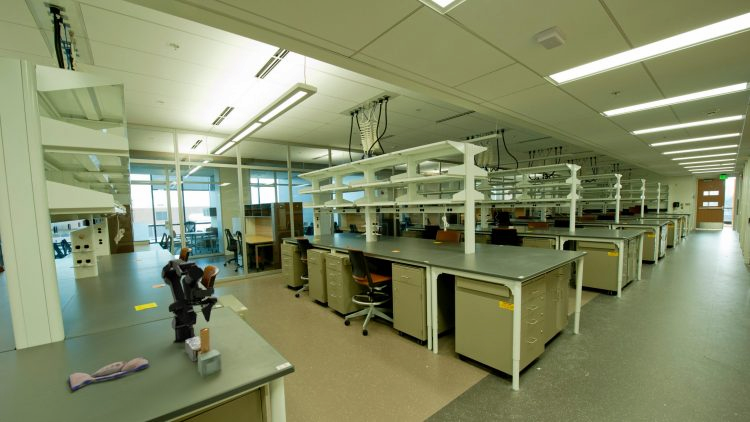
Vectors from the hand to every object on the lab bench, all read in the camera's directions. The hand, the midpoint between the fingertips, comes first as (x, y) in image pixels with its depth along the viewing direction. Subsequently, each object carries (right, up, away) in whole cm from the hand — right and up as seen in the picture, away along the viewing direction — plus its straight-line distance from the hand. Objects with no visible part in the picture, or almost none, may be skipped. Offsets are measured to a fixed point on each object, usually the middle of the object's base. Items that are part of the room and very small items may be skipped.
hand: (198, 323), depth 117 cm
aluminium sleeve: (-1, -12, -1) cm, 13 cm away
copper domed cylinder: (+7, -11, -8) cm, 16 cm away
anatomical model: (-25, -14, -13) cm, 31 cm away
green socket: (+13, -12, -14) cm, 22 cm away
